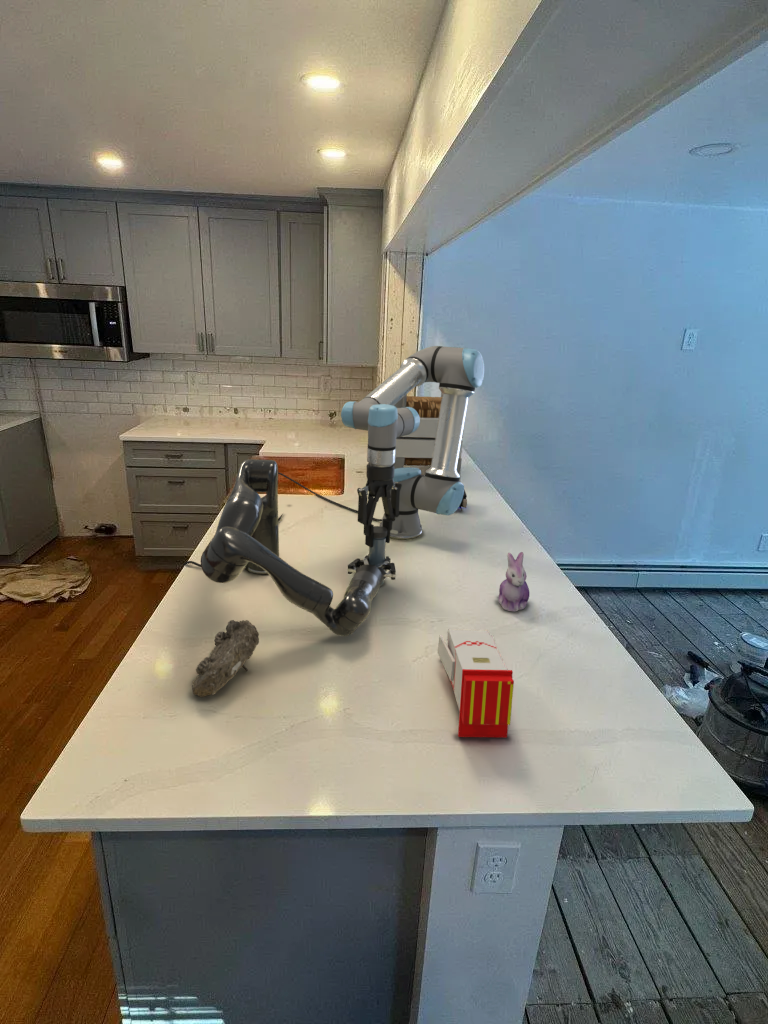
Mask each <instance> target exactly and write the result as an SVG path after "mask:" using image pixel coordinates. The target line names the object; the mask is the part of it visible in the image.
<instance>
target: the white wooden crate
mask: <svg viewBox="0 0 768 1024" xmlns="http://www.w3.org/2000/svg"><path fill="white" fill-rule="evenodd" d="M440 393H441V394H440V396H415V395H414V396H413V395H412V396H411V395H407V394H408V393H407V394H406V395H405V396H404V397H403V398H402V399H401V400H400V401H398V402H397V403H396V404H395V405H394V406H395V407H396V408H402V407H411V408H413V409H415V410H416V411H417V413H418V414H419V417H420V424H419V427H418V429H417V430H416V431H414V432H412V433H411V434H409V435H405V436H401V437H398V438H396V453H395V463H394V466H395V469H397V468H405V466H406V467H409V466H411V467H417V466H418V467H431V462H432V456H433V450H434V444H435V437H436V431H437V425H438V419H439V412H440V406H441V400H442V392H441V391H440ZM464 429H465V427H464V428H463V434H462V440H461V446H460V452H459V458H458V464H457V473H458V474H459V475H460V476H461V472H462V461H463V460H462V453H463V442H464V441H463V438H464V431H465V430H464ZM459 482H461V479H460V480H459Z"/></svg>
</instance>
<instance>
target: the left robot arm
mask: <svg viewBox="0 0 768 1024" xmlns="http://www.w3.org/2000/svg"><path fill="white" fill-rule="evenodd" d="M278 466H279V465H278V463H277V461H276V460H274V459H255V458H254V459H253V458H250V459H244V460H243V461H242V462H241V463H240V465H239V467H238V470H237V474H236V478H235V482H234V485H233V487H232V490H231V492H230V494H229V496H228V498H227V500H226V502H225V504H224V507H223V509H222V511H221V515H220V517H219V521H218V524H217V526H216V529H215V533H214V535H213V537H212V538H211V540H210V541H209V542H208V544H207V546H205V549H204V550H203V552H202V553H201V556H200V563H198V562H196V561H193V560H187V561H185V562H184V563H183V564H182V565H183V566H187V565H188V564H191V565H195V566H197V567H199V568H201V570H202V572H203V574H204V575H205V577H207V578H208V579H209V580H210V581H212V582H214V583H216V584H227V583H231V582H233V581H235V579H237V578H238V577H239V576H240V575H241V574H242V572H243V571H244V570H245V571H249V572H250V573H253V574H255V575H256V574H257V575H267V574H268V576H269V577H270V578H271V580H272V581H273V583H274V584H275V586H276V587H277V589H278V590H279V592H280V593H281V595H282V596H283V597H284V598H285V599H286V601H288V602H289V603H291V604H292V605H294V606H296V607H298V608H300V609H302V610H303V611H306V612H308V613H309V614H312V615H314V616H315V617H316V619H318V621H321V623H323V625H324V626H326V628H327V629H329V630H330V631H331V632H332V633H333V634H334V635H336V636H339V637H349V636H351V635H353V634H354V632H355V631H356V630H357V629H358V628H359V627H360V626H361V625H362V624H363V623H364V622H365V620H366V619H367V618H368V616H369V615H370V613H371V611H372V602H373V600H374V598H376V596H377V594H378V592H379V589H380V587H381V586H382V585H381V583H382V581H383V580H384V581H385V579H387V578H390V579H391V580H392V581H396V577H397V570H396V564H395V562H392V561H391V557H390V556H389V555H385V560H384V562H383V563H382V562H381V563H379V564H378V565H371V564H369V553H368V554H366V555H365V556H364V557H363V558H362V559H361V558H355V559H353V561H351V562H350V563H348V564H347V574H348V575H352V574H353V576H352V577H351V578H350V581H349V583H348V587H347V588H346V590H345V592H344V594H343V597H342V600H341V601H340V602H339V603H338V604H337V606H335V607H334V608H333V607H332V606H331V604H332V602H333V598H334V593H333V590H332V589H331V588H330V587H329V586H327V585H326V584H323V583H321V582H320V581H318V580H315V579H314V578H312V577H311V576H308V575H307V574H304V573H303V572H301V571H299V570H298V569H296V568H295V567H293V566H292V565H291V564H289V563H287V562H286V561H285V560H283V558H281V557H280V539H279V537H280V535H279V533H280V532H279V531H280V530H279V522H278V518H279V474H278V472H279V467H278ZM260 493H265V495H263V496H262V497H261V495H260ZM187 563H188V564H187ZM380 585H381V586H380Z"/></svg>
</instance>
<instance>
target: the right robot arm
mask: <svg viewBox="0 0 768 1024" xmlns="http://www.w3.org/2000/svg"><path fill="white" fill-rule="evenodd" d="M484 379H485V362H484V358H483V355H482V353H481V352H480V351H479V350H477V349H474V348H468V347H456V346H441V345H433V346H428V347H425V348H422V349H420V350H418V351H416V352H414V353H412V354H411V355H409V356H408V357H406V358H405V359H404V360H403V361H402V362H401V363H400V365H399V368H398V369H396V371H394V372H393V373H392V374H391V375H390V376H389V377H387V378H386V379H385V380H384V381H382V382H381V383H380V384H379V385H378V386H376V387H375V388H374V389H373V390H372V391H370V392H369V393H368V394H367V395H365V397H363V398H362V399H361V400H360V401H355V400H354V401H347V402H345V403H344V405H343V407H341V412H340V417H341V422H342V424H343V425H344V426H345V427H347V428H351V429H354V430H362V431H367V449H366V451H367V452H366V462H367V464H366V479H367V481H366V483H365V486H363V487H362V488H361V487H357V489H356V492H357V495H358V499H357V500H358V503H357V509H354V508H351V507H349V506H346V505H344V504H342V503H339V502H336V501H334V500H332V499H329V498H327V497H325V496H323V495H321V494H319V493H317V492H315V491H313V490H312V489H309V488H308V487H306V486H304V485H303V484H301V483H299V482H298V481H296V480H295V479H293V478H291V477H289V476H287V475H286V474H284V473H281V472H279V471H278V475H279V476H282V477H284V478H286V479H287V480H289V481H291V482H293V483H294V484H296V485H298V486H300V488H302V489H304V490H306V491H308V492H309V493H312V494H313V495H315V496H317V497H319V498H321V499H323V500H325V501H327V502H330V503H332V504H334V505H336V506H339V507H342V508H344V509H347V510H349V511H351V512H355V513H357V522H358V523H360V524H361V525H363V536H364V537H365V540H364V545H366V546H367V547H368V548H369V547H370V548H371V547H373V533H374V526H375V524H373V521H375V522H379V526H381V527H385V528H386V529H387V536H386V544H390V543H391V540H395V541H410V540H415V539H418V538H420V537H421V536H422V535H423V525H422V524H421V518H420V515H419V510H421V511H425V512H429V513H433V514H436V515H442V516H452V515H453V514H454V513H456V512H457V510H458V507H459V506H460V504H461V501H462V498H463V495H464V490H465V485H464V483H462V482H461V474H460V475H459V474H458V473H457V464H458V458H459V452H460V446H461V440H462V441H463V438H462V434H463V435H464V432H463V428H464V429H465V421H466V416H467V410H468V404H469V399H470V397H471V396H473V395H474V394H475V390H476V389H477V388H480V387H481V386H482V385H483V381H484ZM425 383H436V384H438V390H439V391H440V393H441V392H442V400H441V406H440V412H439V419H438V425H437V431H436V437H435V444H434V450H433V456H432V462H431V465H430V466H429V468H427V469H426V470H425V471H424V474H422V470H421V468H419V467H413V466H411V467H409V466H406V467H404V468H397V469H395V466H394V463H395V453H396V438H398V437H401V436H405V435H409V434H411V433H412V432H414V431H416V430H417V429H418V427H419V424H420V417H419V414H418V413H417V411H416V410H415V409H413V408H411V407H402V408H396V407H395V406H394V405H395V404H396V403H397V402H398V401H400V400H401V399H402V398H403V397H404V396H405V395H406V394H408V393H410V392H411V391H412V390H413V389H414V388H415V387H420V386H422V385H424V384H425ZM459 480H460V482H459ZM380 498H381V502H382V508H383V515H382V518H375V517H374V516H375V512H376V507H377V505H378V504H377V503H379V501H380Z"/></svg>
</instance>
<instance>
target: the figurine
mask: <svg viewBox="0 0 768 1024" xmlns="http://www.w3.org/2000/svg"><path fill="white" fill-rule="evenodd" d="M506 556H507V569H506V571H505V579H504V580H502V581H501V583H500V585H499V591H498V592H499V593H498V597H497V598H498V600H497V601H498V604H499V605H500V606H501V607H502V609H503V610H505V611H507V612H508V611H509V612H518V611H520V610H521V611H522V610H524V609H525V608H526V607H527V605H528V601H529V599H530V588H529V585H528V584H527V581H526V580H527V571H526V570H525V567H524V552H523V551H520V552H519V553H518V555H517V557H516V559H515V557H514V556H513V554H512V553H511V552H508V553H507V555H506Z"/></svg>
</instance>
